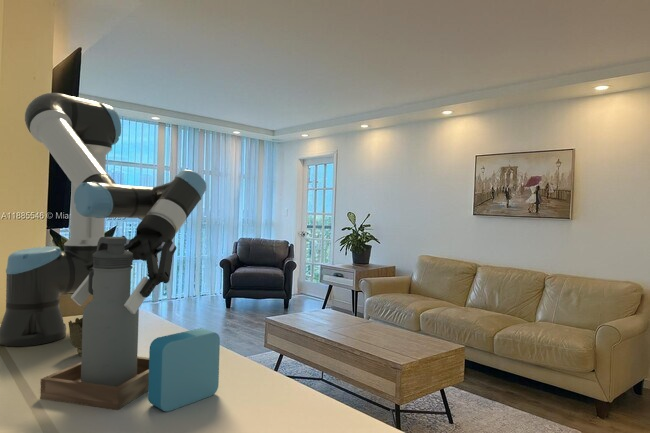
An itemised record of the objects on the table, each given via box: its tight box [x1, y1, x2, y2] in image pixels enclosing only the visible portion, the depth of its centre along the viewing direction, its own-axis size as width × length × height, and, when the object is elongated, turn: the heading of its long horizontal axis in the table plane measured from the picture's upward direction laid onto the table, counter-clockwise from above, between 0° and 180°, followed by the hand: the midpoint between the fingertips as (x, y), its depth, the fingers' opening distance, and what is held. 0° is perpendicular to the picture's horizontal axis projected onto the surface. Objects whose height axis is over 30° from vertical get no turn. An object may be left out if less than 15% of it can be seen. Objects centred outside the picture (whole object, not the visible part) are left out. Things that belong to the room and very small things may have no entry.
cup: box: [68, 316, 83, 356], centre depth 105 cm, size 8×7×8 cm
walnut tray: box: [39, 355, 149, 411], centre depth 86 cm, size 16×16×4 cm
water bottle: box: [80, 236, 140, 387], centre depth 86 cm, size 10×10×28 cm
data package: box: [147, 327, 221, 413], centre depth 82 cm, size 12×4×12 cm, turn 141°
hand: (101, 305), depth 84 cm, fingers open, 13 cm apart
